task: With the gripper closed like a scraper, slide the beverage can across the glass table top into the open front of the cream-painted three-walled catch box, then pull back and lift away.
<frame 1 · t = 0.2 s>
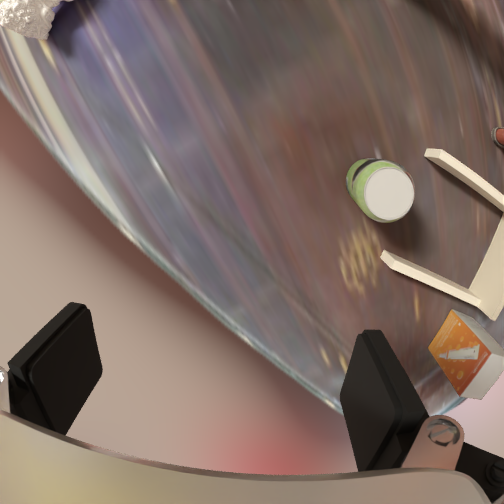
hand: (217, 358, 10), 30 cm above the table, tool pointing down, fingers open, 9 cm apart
small box: (449, 331, 44), on the table
beverage can: (361, 180, 37), on the table
catch box: (459, 233, 38), on the table
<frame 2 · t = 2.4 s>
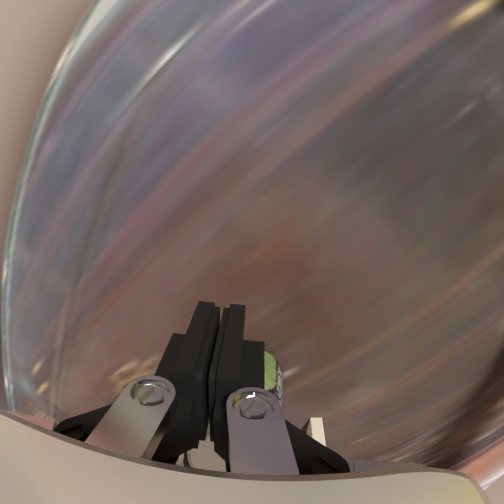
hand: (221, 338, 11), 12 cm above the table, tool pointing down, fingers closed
beverage can: (246, 361, 27), on the table
catch box: (237, 466, 32), on the table
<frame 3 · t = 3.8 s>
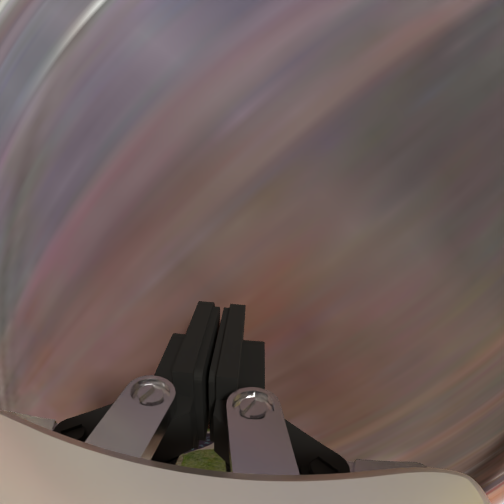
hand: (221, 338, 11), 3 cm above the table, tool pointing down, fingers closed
beverage can: (225, 439, 18), on the table
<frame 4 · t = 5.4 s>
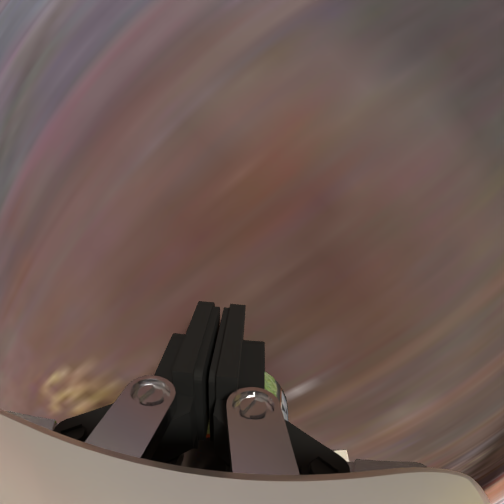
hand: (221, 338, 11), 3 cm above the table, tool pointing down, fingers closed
beverage can: (227, 382, 16), on the table, touching gripper
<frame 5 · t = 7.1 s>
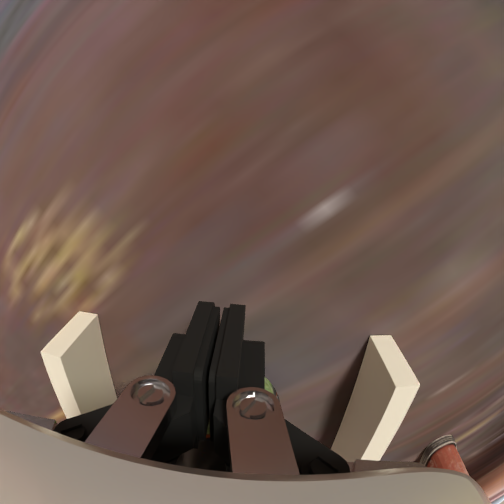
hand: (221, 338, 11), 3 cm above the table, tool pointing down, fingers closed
beverage can: (222, 382, 16), on the table, touching gripper
lighter: (434, 458, 19), on the table
catch box: (226, 457, 18), on the table
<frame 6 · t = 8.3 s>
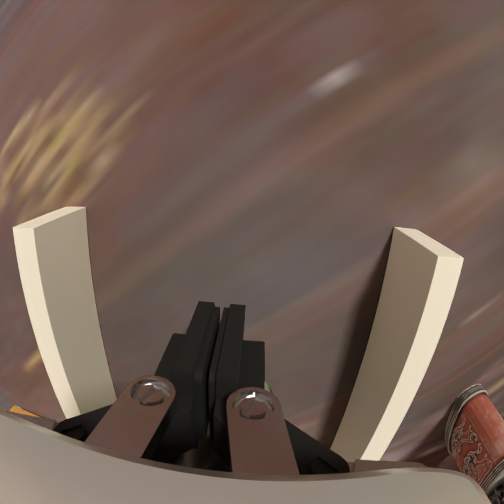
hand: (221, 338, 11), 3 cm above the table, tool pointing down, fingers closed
beverage can: (219, 381, 16), on the table, touching gripper
lighter: (462, 417, 17), on the table
catch box: (227, 406, 16), on the table
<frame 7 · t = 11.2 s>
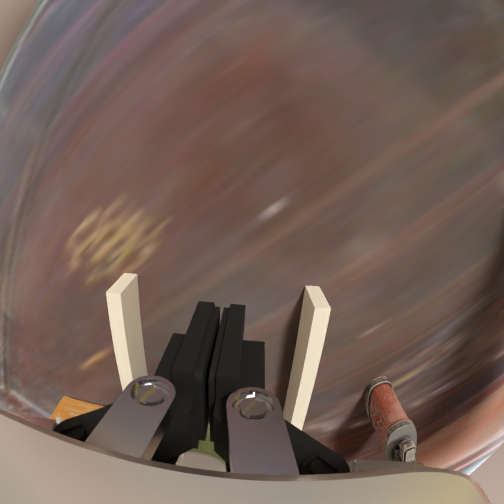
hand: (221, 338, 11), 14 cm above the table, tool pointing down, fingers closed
small box: (97, 417, 31), on the table
beverage can: (211, 382, 29), on the table
lighter: (378, 400, 30), on the table
catch box: (216, 383, 28), on the table
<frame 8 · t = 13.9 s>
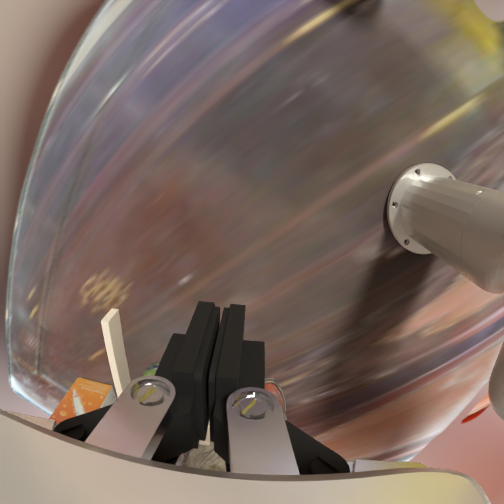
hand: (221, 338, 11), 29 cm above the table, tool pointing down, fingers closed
small box: (98, 391, 51), on the table
lighter: (273, 394, 49), on the table
ceramic cottage: (223, 460, 56), on the table
catch box: (166, 371, 48), on the table
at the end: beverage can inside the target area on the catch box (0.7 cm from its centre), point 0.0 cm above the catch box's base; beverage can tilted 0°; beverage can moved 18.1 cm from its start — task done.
